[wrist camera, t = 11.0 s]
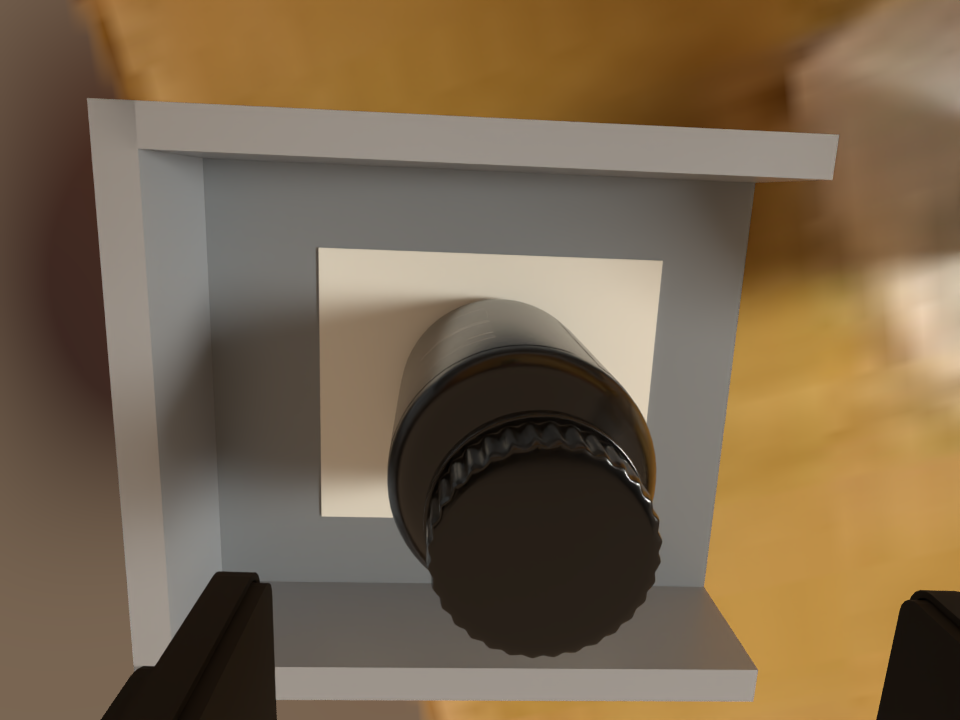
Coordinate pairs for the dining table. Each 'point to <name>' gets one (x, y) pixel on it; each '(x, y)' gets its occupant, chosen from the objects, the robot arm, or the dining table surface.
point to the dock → (383, 355)
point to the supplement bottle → (523, 481)
